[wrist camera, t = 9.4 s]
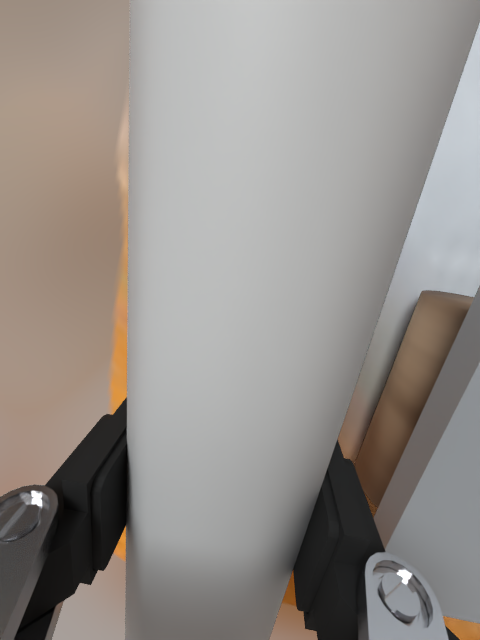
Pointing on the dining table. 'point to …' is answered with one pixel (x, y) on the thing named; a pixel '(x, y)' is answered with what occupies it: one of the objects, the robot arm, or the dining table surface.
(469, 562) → the slab
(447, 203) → the dining table surface
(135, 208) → the tube
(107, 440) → the robot arm
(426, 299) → the rollers
